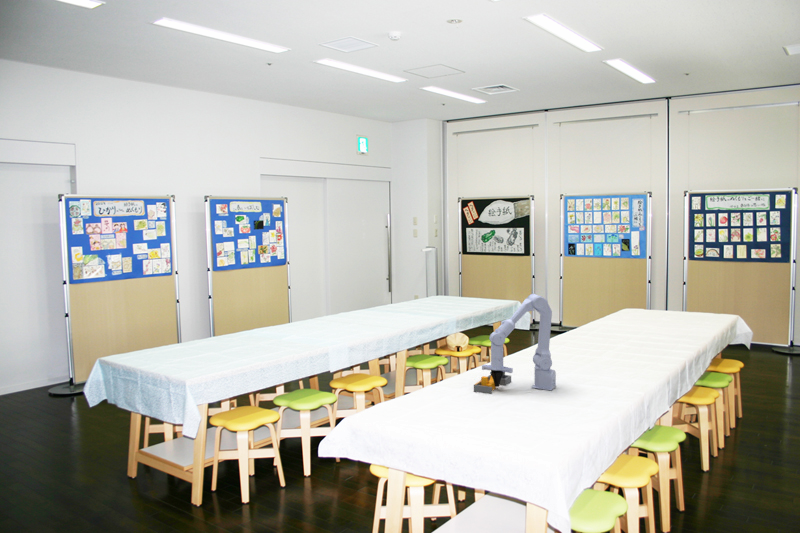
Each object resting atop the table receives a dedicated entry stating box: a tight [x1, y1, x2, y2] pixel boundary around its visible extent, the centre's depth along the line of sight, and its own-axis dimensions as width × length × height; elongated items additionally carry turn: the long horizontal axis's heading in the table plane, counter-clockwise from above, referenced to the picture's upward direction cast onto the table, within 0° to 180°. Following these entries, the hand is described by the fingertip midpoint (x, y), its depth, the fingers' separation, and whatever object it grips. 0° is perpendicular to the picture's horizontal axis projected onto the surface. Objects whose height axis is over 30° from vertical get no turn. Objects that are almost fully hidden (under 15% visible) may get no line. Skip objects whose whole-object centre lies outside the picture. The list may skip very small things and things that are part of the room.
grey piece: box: [473, 372, 512, 395], centre depth 279 cm, size 10×24×6 cm, turn 149°
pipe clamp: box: [480, 375, 497, 391], centre depth 277 cm, size 12×4×6 cm, turn 145°
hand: (497, 386), depth 275 cm, fingers closed
